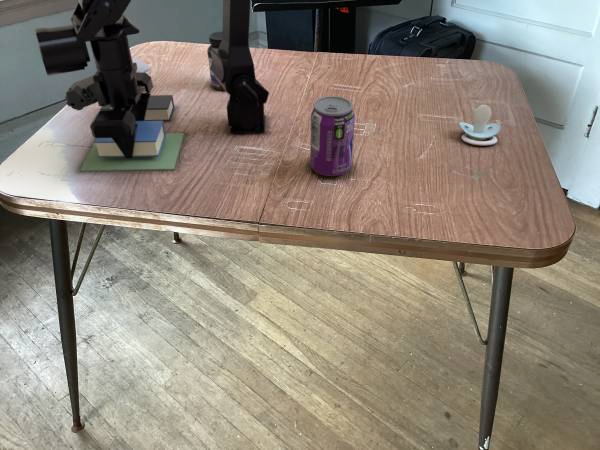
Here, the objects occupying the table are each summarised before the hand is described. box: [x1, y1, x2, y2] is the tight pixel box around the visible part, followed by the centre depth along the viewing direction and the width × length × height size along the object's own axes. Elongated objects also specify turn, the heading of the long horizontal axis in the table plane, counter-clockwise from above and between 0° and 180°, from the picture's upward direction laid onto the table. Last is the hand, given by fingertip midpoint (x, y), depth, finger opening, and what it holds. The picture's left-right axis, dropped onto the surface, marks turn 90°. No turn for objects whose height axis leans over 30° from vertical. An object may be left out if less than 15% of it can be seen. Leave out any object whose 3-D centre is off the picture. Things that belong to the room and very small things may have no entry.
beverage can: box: [309, 95, 356, 177], centre depth 90 cm, size 7×7×12 cm
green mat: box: [80, 132, 185, 172], centre depth 98 cm, size 16×12×1 cm
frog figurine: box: [131, 56, 151, 89], centre depth 116 cm, size 6×7×7 cm
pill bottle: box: [206, 30, 226, 91], centre depth 115 cm, size 6×6×11 cm
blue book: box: [93, 121, 166, 158], centre depth 96 cm, size 10×7×3 cm, turn 91°
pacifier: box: [459, 104, 501, 146], centre depth 99 cm, size 7×6×6 cm
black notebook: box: [99, 94, 175, 122], centre depth 108 cm, size 13×6×3 cm, turn 91°
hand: (133, 146), depth 97 cm, fingers closed on blue book, 7 cm apart
